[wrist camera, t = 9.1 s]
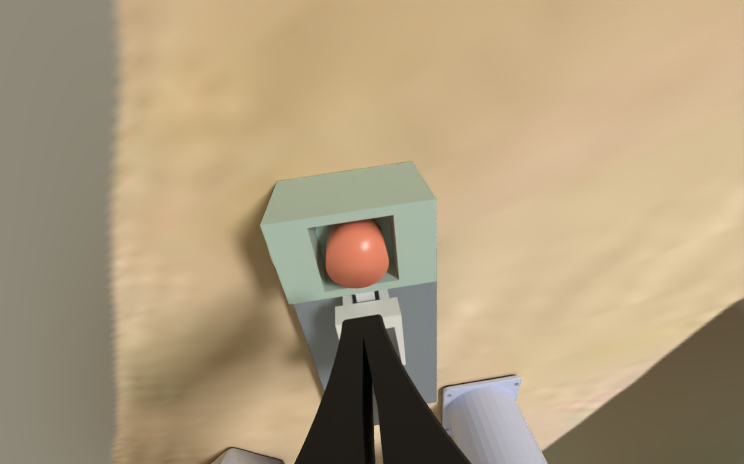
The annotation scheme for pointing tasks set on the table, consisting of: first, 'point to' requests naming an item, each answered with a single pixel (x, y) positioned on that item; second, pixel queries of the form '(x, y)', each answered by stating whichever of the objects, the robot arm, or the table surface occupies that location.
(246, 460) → the juice carton
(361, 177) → the end cabinet
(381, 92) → the table surface
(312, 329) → the rail board
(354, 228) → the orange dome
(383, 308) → the carriage
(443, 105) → the table surface
